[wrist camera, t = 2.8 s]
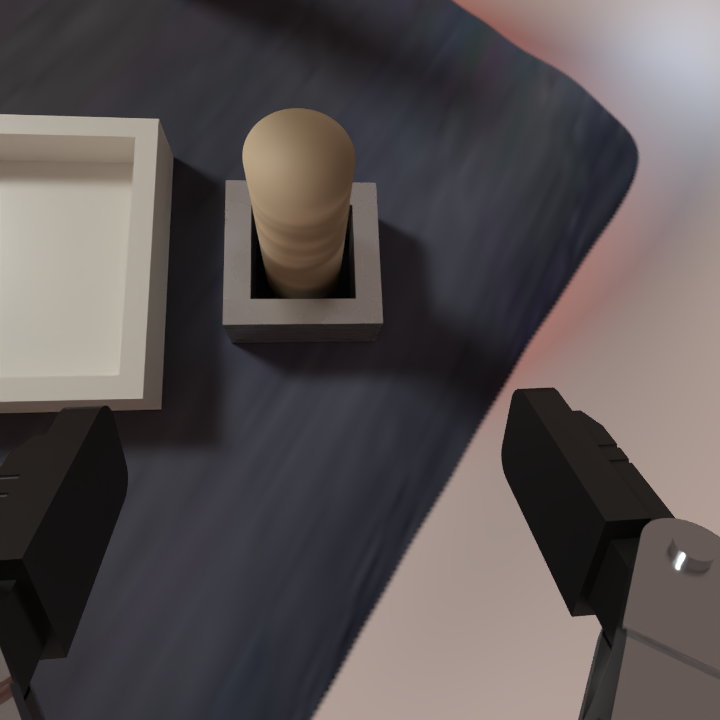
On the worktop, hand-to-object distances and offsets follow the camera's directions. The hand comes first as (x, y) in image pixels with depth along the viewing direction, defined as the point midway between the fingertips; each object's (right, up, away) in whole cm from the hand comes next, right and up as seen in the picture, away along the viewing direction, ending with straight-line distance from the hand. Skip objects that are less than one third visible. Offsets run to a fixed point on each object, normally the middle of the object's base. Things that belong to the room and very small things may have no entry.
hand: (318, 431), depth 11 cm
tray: (-19, +6, +20) cm, 28 cm away
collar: (-3, +7, +22) cm, 23 cm away
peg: (-3, +7, +22) cm, 23 cm away
